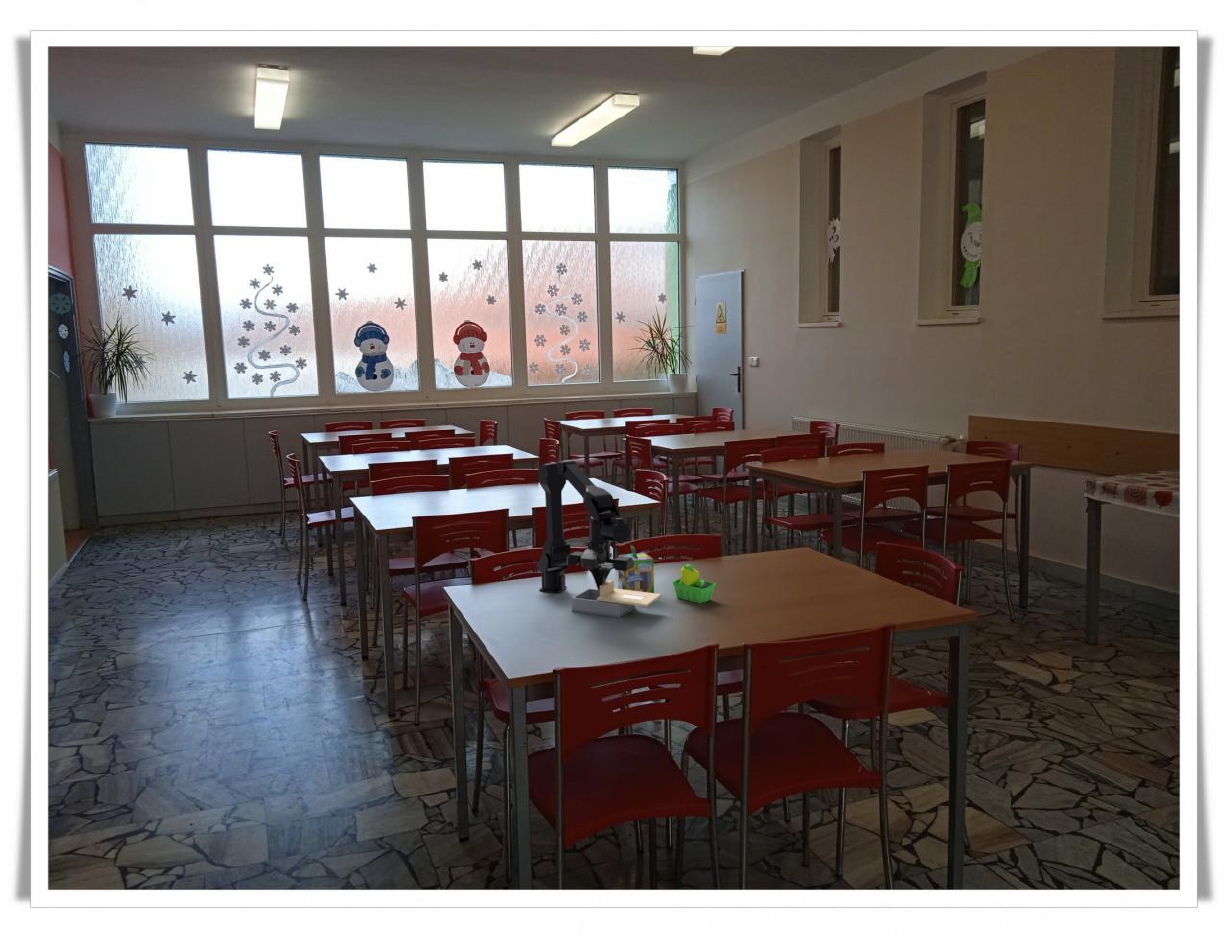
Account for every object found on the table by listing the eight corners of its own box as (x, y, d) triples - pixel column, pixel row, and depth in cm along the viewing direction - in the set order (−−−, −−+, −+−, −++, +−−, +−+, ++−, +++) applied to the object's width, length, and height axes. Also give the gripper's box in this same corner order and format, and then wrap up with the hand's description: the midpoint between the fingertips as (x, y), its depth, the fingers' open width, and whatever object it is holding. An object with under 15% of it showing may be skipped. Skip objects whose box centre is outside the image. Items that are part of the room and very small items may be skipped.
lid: (596, 600, 238) (596, 587, 237) (613, 590, 248) (613, 578, 247) (646, 606, 232) (646, 594, 231) (660, 596, 242) (661, 583, 241)
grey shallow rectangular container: (571, 611, 242) (571, 598, 241) (588, 601, 252) (588, 588, 251) (619, 618, 236) (619, 604, 235) (635, 607, 245) (635, 594, 245)
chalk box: (654, 596, 257) (654, 548, 254) (625, 598, 254) (625, 550, 252) (646, 588, 265) (646, 541, 263) (617, 590, 263) (617, 543, 261)
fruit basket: (716, 600, 253) (717, 563, 251) (698, 606, 246) (699, 568, 245) (686, 592, 260) (687, 556, 259) (668, 598, 254) (668, 562, 252)
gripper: (557, 539, 238) (558, 593, 240) (618, 545, 230) (618, 601, 232) (575, 532, 248) (576, 584, 250) (634, 537, 240) (634, 591, 242)
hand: (600, 590), depth 243 cm, fingers closed
